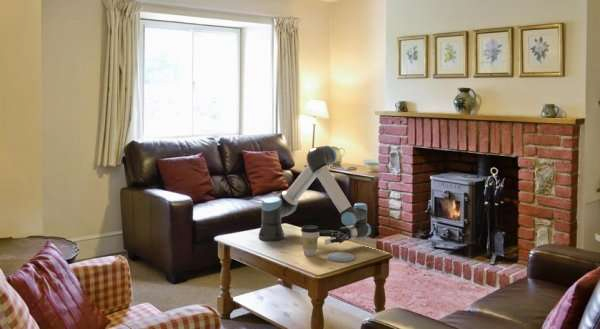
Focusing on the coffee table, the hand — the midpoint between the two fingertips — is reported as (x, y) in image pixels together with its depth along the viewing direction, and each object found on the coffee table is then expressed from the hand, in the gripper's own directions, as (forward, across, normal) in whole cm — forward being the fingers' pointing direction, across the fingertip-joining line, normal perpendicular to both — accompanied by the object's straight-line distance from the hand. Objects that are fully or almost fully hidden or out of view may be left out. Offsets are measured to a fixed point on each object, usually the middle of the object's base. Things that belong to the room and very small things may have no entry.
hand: (317, 239), depth 312 cm
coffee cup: (+4, +1, -8) cm, 9 cm away
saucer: (-5, -14, -8) cm, 17 cm away
